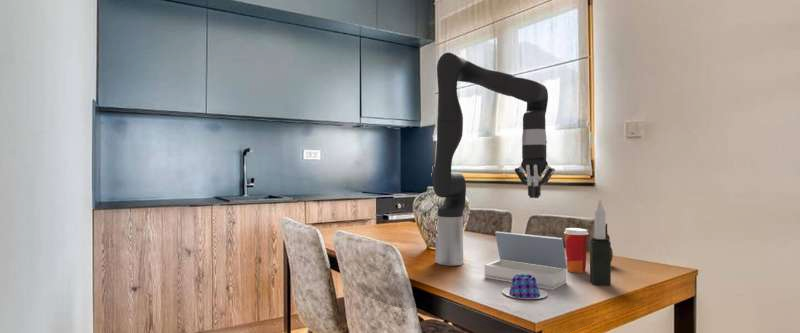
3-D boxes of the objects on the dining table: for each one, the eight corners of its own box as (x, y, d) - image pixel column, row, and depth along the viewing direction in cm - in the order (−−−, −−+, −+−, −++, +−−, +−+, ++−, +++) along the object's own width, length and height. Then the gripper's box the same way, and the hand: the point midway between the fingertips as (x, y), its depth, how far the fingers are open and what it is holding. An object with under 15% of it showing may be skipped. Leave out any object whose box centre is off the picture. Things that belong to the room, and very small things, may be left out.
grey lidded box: (484, 277, 141) (484, 264, 141) (500, 271, 148) (500, 259, 148) (552, 289, 126) (552, 275, 126) (566, 282, 134) (566, 269, 134)
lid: (494, 232, 146) (496, 231, 146) (500, 259, 148) (501, 258, 149) (561, 239, 131) (562, 238, 132) (566, 269, 134) (566, 267, 134)
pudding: (539, 289, 128) (539, 271, 128) (553, 301, 116) (553, 281, 116) (498, 289, 128) (497, 271, 128) (508, 302, 116) (507, 282, 116)
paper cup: (577, 267, 154) (577, 227, 154) (594, 272, 146) (593, 230, 146) (558, 269, 151) (558, 228, 151) (574, 274, 144) (574, 231, 144)
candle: (611, 285, 130) (611, 200, 130) (593, 285, 131) (592, 200, 131) (607, 281, 135) (606, 199, 135) (589, 280, 136) (589, 199, 136)
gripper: (509, 144, 145) (509, 197, 145) (549, 142, 136) (550, 199, 136) (519, 145, 150) (520, 196, 150) (559, 143, 141) (559, 198, 141)
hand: (534, 197), depth 143 cm, fingers closed
